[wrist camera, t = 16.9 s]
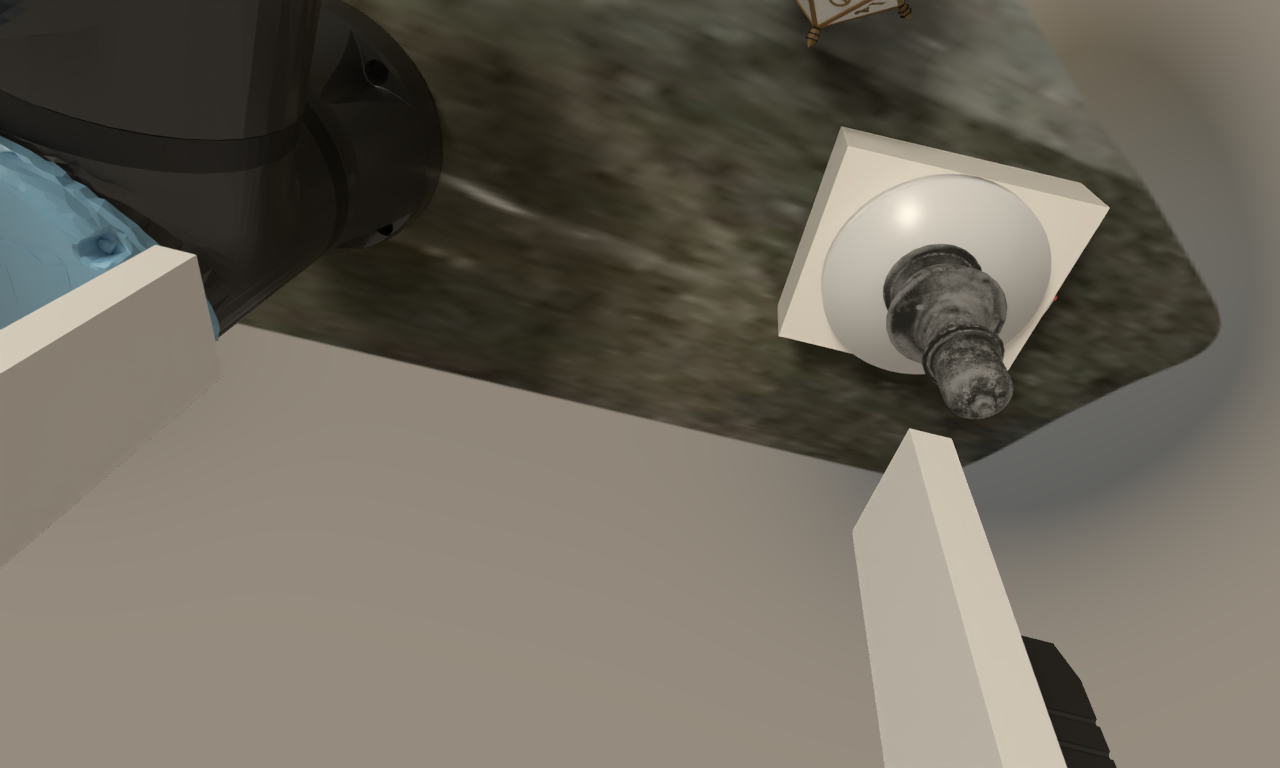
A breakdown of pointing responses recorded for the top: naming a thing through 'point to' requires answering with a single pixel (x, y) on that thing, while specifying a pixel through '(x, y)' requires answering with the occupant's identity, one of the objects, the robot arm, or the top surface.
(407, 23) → the top surface
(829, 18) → the game die
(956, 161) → the kitchen scale
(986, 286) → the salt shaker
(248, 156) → the robot arm
